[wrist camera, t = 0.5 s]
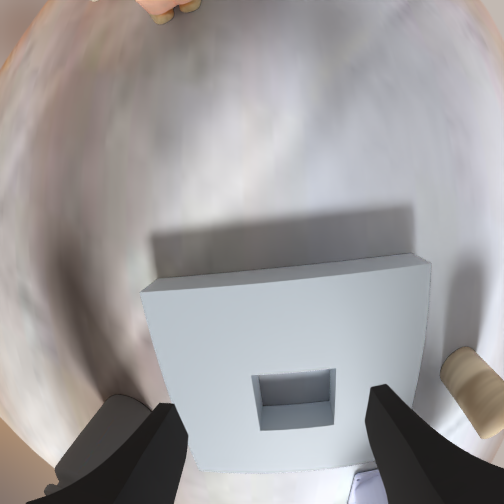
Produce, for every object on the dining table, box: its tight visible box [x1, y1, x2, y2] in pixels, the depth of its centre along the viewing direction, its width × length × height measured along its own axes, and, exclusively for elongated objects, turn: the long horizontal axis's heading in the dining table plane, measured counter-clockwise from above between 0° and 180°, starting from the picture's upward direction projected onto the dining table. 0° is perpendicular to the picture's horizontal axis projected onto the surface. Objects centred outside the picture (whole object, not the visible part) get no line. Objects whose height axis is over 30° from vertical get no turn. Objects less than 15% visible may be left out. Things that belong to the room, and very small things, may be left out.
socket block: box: [140, 253, 431, 474], centre depth 19 cm, size 18×18×3 cm
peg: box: [440, 347, 504, 439], centre depth 16 cm, size 4×4×8 cm
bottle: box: [44, 395, 151, 496], centre depth 16 cm, size 6×6×15 cm
